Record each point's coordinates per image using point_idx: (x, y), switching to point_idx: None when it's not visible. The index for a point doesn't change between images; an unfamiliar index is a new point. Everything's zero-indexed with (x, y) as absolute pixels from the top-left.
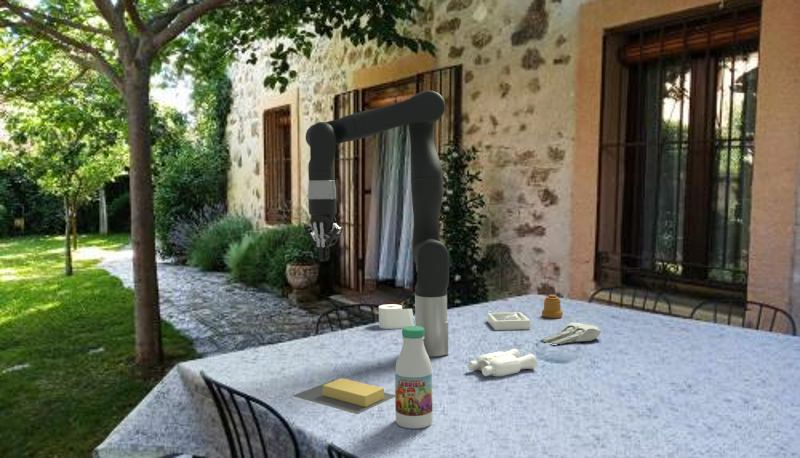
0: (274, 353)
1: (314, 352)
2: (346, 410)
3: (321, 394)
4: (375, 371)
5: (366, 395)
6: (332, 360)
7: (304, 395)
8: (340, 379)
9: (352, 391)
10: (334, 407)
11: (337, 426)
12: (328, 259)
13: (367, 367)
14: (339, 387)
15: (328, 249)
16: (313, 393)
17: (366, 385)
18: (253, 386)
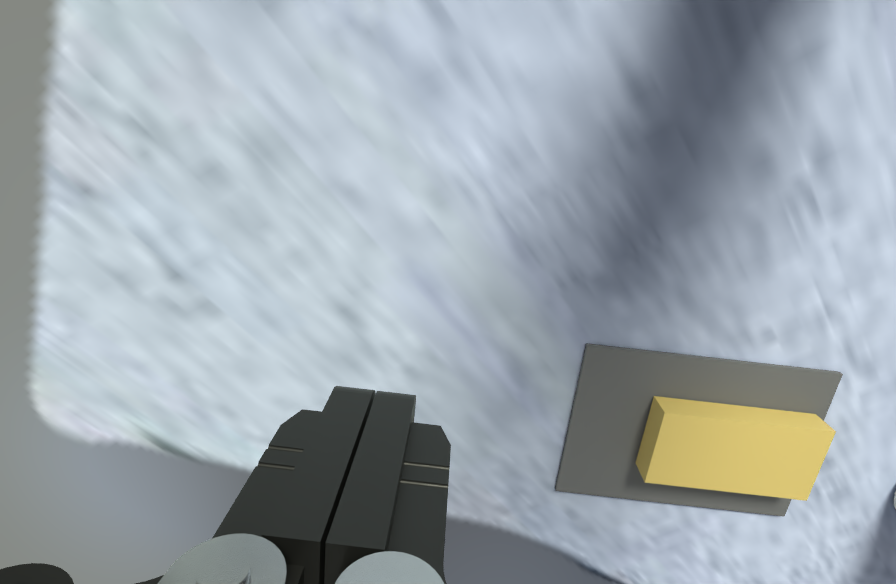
0: (169, 181)
1: (293, 85)
2: (746, 510)
3: (624, 454)
4: (667, 187)
5: (806, 494)
6: (436, 147)
7: (585, 478)
8: (668, 424)
9: (753, 486)
10: (707, 507)
11: (762, 570)
12: (414, 400)
13: (615, 159)
14: (701, 477)
15: (440, 563)
16: (599, 458)
17: (773, 433)
18: None
